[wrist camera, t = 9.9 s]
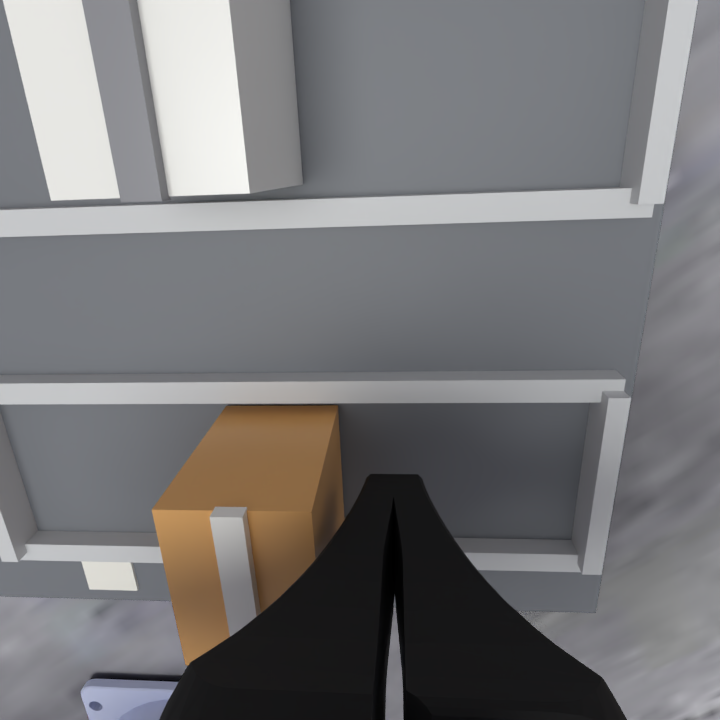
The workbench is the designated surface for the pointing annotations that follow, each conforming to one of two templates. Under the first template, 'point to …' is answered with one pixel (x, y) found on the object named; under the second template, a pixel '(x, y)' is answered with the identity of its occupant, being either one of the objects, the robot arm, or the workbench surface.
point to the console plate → (359, 292)
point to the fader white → (159, 96)
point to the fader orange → (248, 516)
